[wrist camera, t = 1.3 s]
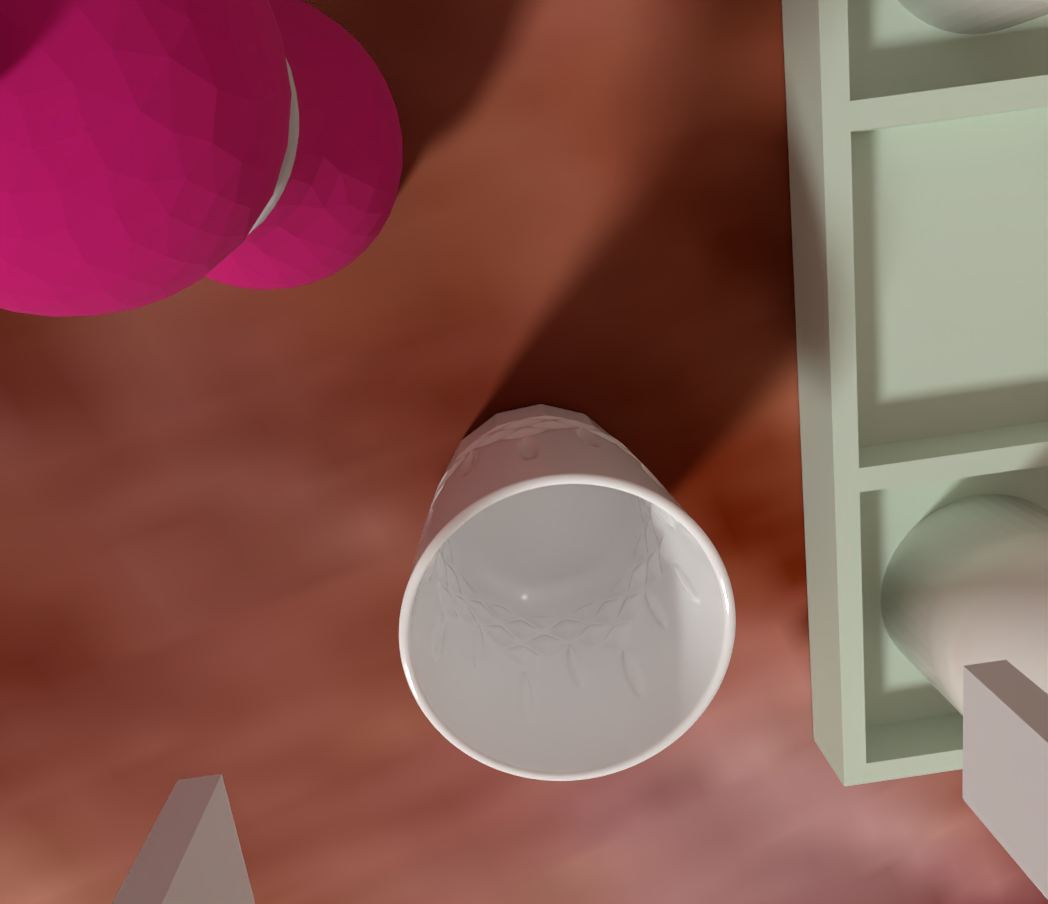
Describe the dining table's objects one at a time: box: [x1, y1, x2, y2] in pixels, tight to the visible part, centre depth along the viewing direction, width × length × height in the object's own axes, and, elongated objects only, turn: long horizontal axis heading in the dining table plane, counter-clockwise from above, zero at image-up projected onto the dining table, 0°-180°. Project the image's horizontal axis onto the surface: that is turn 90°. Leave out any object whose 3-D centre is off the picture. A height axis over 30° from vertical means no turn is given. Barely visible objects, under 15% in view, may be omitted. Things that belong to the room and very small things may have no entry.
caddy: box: [782, 0, 1048, 786], centre depth 27 cm, size 33×12×3 cm, turn 7°
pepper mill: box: [0, 0, 403, 317], centre depth 17 cm, size 7×7×20 cm
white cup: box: [399, 404, 736, 781], centre depth 25 cm, size 8×8×10 cm
